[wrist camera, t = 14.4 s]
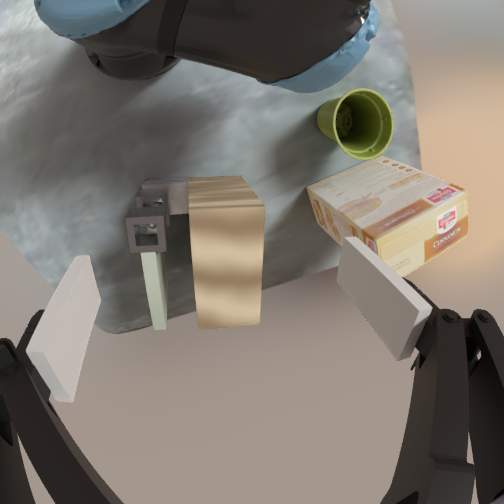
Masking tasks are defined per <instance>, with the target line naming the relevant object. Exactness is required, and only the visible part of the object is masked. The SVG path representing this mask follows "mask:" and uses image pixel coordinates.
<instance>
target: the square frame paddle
mask: <svg viewBox="0 0 504 504" xmlns="http://www.w3.org/2000/svg"><path fill="white" fill-rule="evenodd" d="M147 202H162V206H155V207H146V203H147ZM136 206H137V208H130V209H129V211H128V213H127V215H126V217H125V221H126V229H127V237H128V244H129V250H130V253H141V258H142V265H143V272H144V278H145V284H146V290H147V296H148V302H149V307H150V312H151V317H152V322H153V327H154V330H166V329H167V300H168V279H167V270H166V261H165V252H166V251H167V242H168V235H167V226H168V225H169V224H170V199H169V188H166V189H149V190H139V192H138V194H137V196H136ZM147 224H156V225H157V227H156V228H155V229H151V228H149V227H148V225H147ZM139 227H148V228H147V231H146V234H140V231H139Z"/></svg>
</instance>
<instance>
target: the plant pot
mask: <svg viewBox="0 0 504 504" xmlns="http://www.w3.org/2000/svg"><path fill="white" fill-rule="evenodd" d="M336 118H337V121H336ZM348 118H349V120H350V122H349V125H348V126H347V121H348V120H347V119H348ZM317 124H318V127H319V128H320V130H321V132H322V133H323V134H324V135H325V136H327V137H328V138H330V139H332V140H333V141H335V142H337V143H338V144H339V146H340V147H341V149H342V150H343V151H344V152H345V153H347V154H348V155H349V156H351V157H353V158H356V159H360V160H368V159H373V158H375V157H377V156H379V155H380V154H382V153H383V152H384V151H385V149H386V148H387V147H388V145H389V143H390V141H391V138H392V135H393V128H394V121H393V116H392V112H391V109H390V107H389V105H388V103H387V102H386V101H385V99H384V98H383V97H382V96H381V95H380V94H378V93H377V92H375V91H373V90H370V89H365V88H359V89H354V90H351V91H349V92H347V93H346V94H345V95H343V96H342V97H341V98H337V99H333V100H330V101H327V102H326V103H324V104H323V105H322V106H321V107H320V109H319V111H318V114H317Z"/></svg>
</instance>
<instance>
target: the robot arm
mask: <svg viewBox="0 0 504 504" xmlns="http://www.w3.org/2000/svg"><path fill="white" fill-rule="evenodd" d="M34 5H35V7H36V11H37V13H38V16H39V17H40V19H41V20H42V21H43V22H44V23H45V24H46V25H47V26H48V27H49V28H50V29H51V30H53V32H54V33H56V34H58V35H59V36H62V37H66V38H69V39H71V40H73V41H75V42H77V43H79V44H81V45H82V46H84V47H85V50H86V53H87V55H88V57H89V59H90V61H91V62H92V63H93V64H94V66H95V67H96V68H98V69H99V70H100V71H102V72H103V73H105V74H107V75H109V76H112V77H114V78H118V79H122V80H142V79H147V78H151V77H154V76H156V75H159V74H161V73H163V72H165V71H167V70H168V69H170V68H171V67H173V66H174V65H175V64H177V63H178V62H179V61H180V60H181V59H185V60H190V61H194V62H198V63H203V64H207V65H211V66H214V67H218V68H222V69H226V70H229V71H233V72H236V73H239V74H243V75H246V76H249V77H252V78H255V79H256V80H257V81H258V82H260V83H262V84H265V85H272V86H279V87H282V88H285V89H288V90H291V91H294V92H299V93H313V92H317V91H321V90H323V89H326V88H328V87H330V86H332V85H333V84H335V83H337V82H338V81H339V80H341V79H342V78H343V77H345V76H346V75H347V74H348V73H349V72H350V71H351V70H352V69H353V68H354V67H355V66H356V65H357V64H358V63H359V62H360V61H361V59H362V58H363V57H364V55H365V54H366V52H367V51H368V49H369V48H370V44H369V42H368V41H370V40H371V39H372V38H374V37H375V36H376V33H377V30H378V25H379V18H378V12H377V10H376V8H375V7H374V6H373V4H372V2H371V0H34ZM336 281H337V282H338V284H339V285H340V286H341V288H342V289H343V290H344V291H345V293H346V294H347V295H348V296H349V298H350V299H351V300H352V302H353V303H354V304H355V305H356V307H357V308H358V309H359V311H360V312H361V313H362V315H363V316H364V317H365V319H366V320H367V321H368V322H369V324H370V325H371V326H372V328H373V329H374V330H375V332H376V333H377V334H378V336H379V337H380V338H381V340H382V341H383V342H384V344H385V345H386V347H387V348H388V349H389V351H390V352H391V353H392V355H393V356H394V357H395V359H396V360H397V361H400V360H403V359H406V358H409V357H410V356H411V354H412V352H413V350H414V348H415V347H416V348H417V349H418V351H419V353H418V355H417V357H416V360H415V361H414V363H413V365H412V367H411V370H413V368H414V367H415V366H416V367H415V376H414V383H413V390H412V396H411V403H410V408H409V414H408V419H407V424H406V430H405V434H404V439H403V443H402V447H401V451H400V455H399V459H398V463H397V466H396V470H395V473H394V477H393V480H392V484H391V486H390V489H389V490H388V492H387V494H386V495H385V497H384V498H383V500H382V502H381V503H380V504H471V500H472V494H473V486H474V480H475V478H476V489H477V497H478V501H479V504H504V336H503V334H502V332H501V330H500V328H499V327H498V325H497V323H496V321H495V319H494V318H493V316H492V315H491V314H490V313H488V312H487V311H486V310H481V309H476V310H474V312H473V314H472V316H471V318H461V317H460V316H459V314H458V313H456V312H455V311H452V310H450V309H439V308H438V307H437V306H436V305H435V304H434V303H433V302H432V301H431V300H430V299H429V298H428V297H427V296H426V295H425V294H423V293H422V292H421V291H420V290H419V289H418V288H417V287H416V286H415V285H414V284H413V283H412V282H411V281H409V280H407V279H405V278H403V277H400V276H399V275H398V274H397V273H396V272H395V271H394V270H393V269H392V268H391V267H390V266H389V265H388V264H386V263H385V262H384V261H383V260H382V259H381V258H380V257H379V256H378V255H376V254H375V253H374V252H373V251H372V250H371V249H370V248H369V247H367V246H366V245H365V244H364V243H363V242H362V241H361V240H359V239H358V238H357V237H356V236H355V237H344V240H343V246H342V252H341V258H340V263H339V268H338V274H337V279H336ZM100 303H101V298H100V295H99V291H98V288H97V284H96V280H95V277H94V273H93V269H92V265H91V261H90V256H89V255H81V256H75V258H74V260H73V261H72V263H71V265H70V266H69V268H68V270H67V271H66V273H65V275H64V276H63V278H62V280H61V282H60V283H59V285H58V287H57V289H56V290H55V293H54V294H53V296H52V298H51V300H50V302H49V303H48V305H47V307H46V309H45V310H39V311H38V312H37V313H36V314H35V315H34V316H33V317H32V318H31V320H30V322H29V324H28V327H27V328H26V330H25V332H24V334H23V336H22V338H21V340H20V342H19V344H18V346H17V348H15V346H14V345H13V343H12V341H11V340H10V339H7V338H1V339H0V504H35V501H34V498H33V495H32V492H31V489H30V485H29V482H28V479H27V475H26V472H25V468H24V464H23V460H22V455H21V452H20V447H19V442H18V436H19V438H20V440H21V442H22V445H23V447H24V449H25V451H26V453H27V455H28V457H29V459H30V461H31V463H32V465H33V467H34V468H35V470H36V472H37V474H38V476H39V477H40V479H41V481H42V483H43V484H44V486H45V488H46V489H47V491H48V493H49V494H50V496H51V497H52V499H53V500H54V502H55V504H124V503H123V502H122V501H121V500H120V499H119V498H118V497H117V496H116V494H115V493H114V492H113V491H112V490H111V489H110V487H109V486H108V485H107V484H106V483H105V481H104V480H103V479H102V478H101V477H100V475H99V474H98V473H97V472H96V470H95V469H94V468H93V466H92V465H91V464H90V462H89V461H88V460H87V458H86V457H85V456H84V454H83V453H82V452H81V450H80V449H79V447H78V446H77V444H76V443H75V441H74V440H73V438H72V437H71V435H70V434H69V432H68V431H67V429H66V428H65V426H64V424H63V423H62V421H61V419H60V418H59V416H58V414H57V413H56V411H55V409H54V408H53V406H52V404H51V403H50V401H49V396H50V393H52V395H53V396H54V398H55V399H56V400H57V401H62V402H73V401H74V397H75V392H76V388H77V383H78V379H79V375H80V371H81V367H82V363H83V359H84V356H85V352H86V348H87V345H88V341H89V338H90V335H91V331H92V328H93V325H94V321H95V318H96V315H97V312H98V309H99V306H100ZM480 351H481V358H480V359H479V360H478V358H477V355H478V353H479V352H480ZM468 432H469V434H470V440H471V446H472V453H473V461H474V465H473V464H470V463H468V462H467V448H468ZM17 434H18V436H17Z"/></svg>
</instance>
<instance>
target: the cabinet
mask: <svg viewBox="0 0 504 504" xmlns="http://www.w3.org/2000/svg"><path fill="white" fill-rule="evenodd" d="M166 188H169V199H170V215H174V214H189V222H190V238H191V252H192V265H193V277H194V288H195V299H196V309H197V318H198V327H199V330H204V329H216V328H226V327H235V326H245V325H253V324H259V323H260V306H261V287H262V267H263V247H264V225H265V206H264V205H263V203H262V202H261V201H260V199H259V198H258V197H257V195H256V194H255V193H254V192H253V190H252V189H251V188H250V186H249V185H248V184H247V183H246V181H245V180H244V179H243V178H242V176H222V177H200V178H188V177H177V178H163V179H151V180H144V182H143V184H142V190H149V189H166ZM155 206H162V202H147V203H146V207H155ZM147 225H148V227H149V228H151V229H155V228H156V227H157V225H156V224H147Z"/></svg>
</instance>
